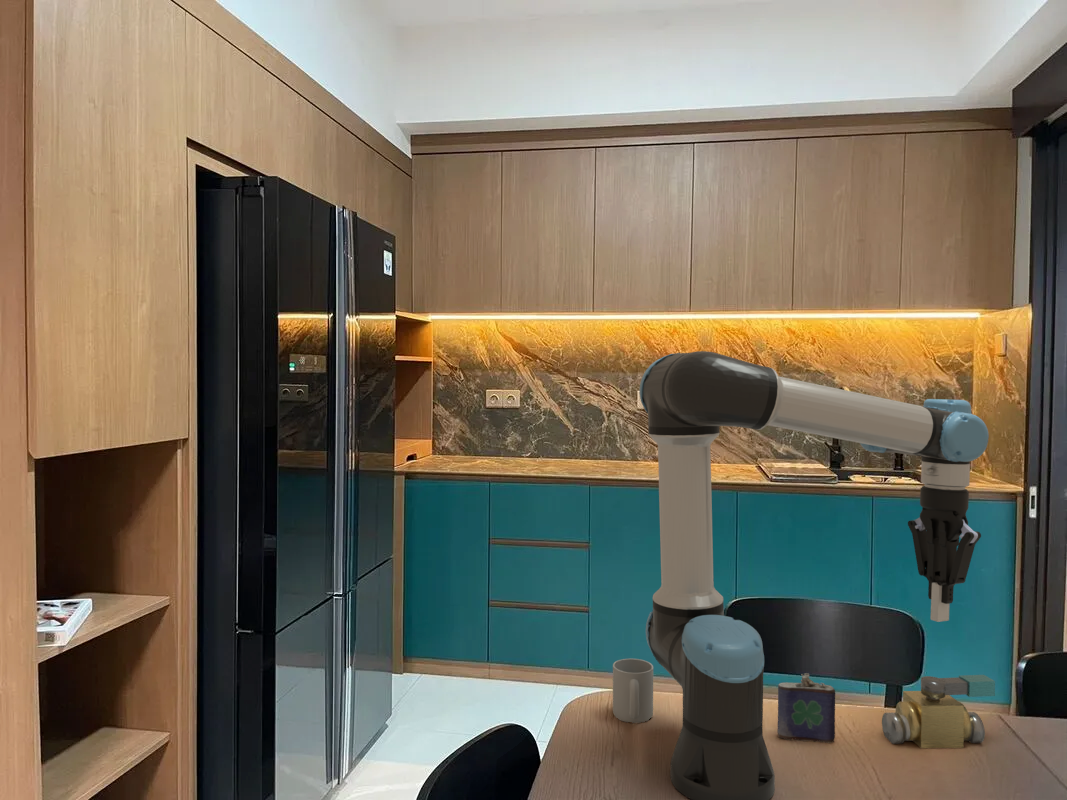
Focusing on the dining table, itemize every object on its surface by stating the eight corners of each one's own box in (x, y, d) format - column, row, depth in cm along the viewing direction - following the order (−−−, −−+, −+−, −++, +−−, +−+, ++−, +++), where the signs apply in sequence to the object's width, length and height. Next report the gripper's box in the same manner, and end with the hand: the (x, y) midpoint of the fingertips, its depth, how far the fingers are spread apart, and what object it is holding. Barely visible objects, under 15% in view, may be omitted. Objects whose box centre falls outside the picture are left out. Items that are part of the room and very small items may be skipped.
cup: (651, 707, 140) (651, 659, 140) (655, 731, 130) (656, 680, 130) (612, 705, 141) (612, 658, 141) (613, 730, 131) (613, 678, 131)
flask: (778, 739, 128) (779, 676, 127) (776, 731, 130) (776, 669, 130) (836, 744, 126) (837, 680, 126) (832, 736, 129) (833, 673, 129)
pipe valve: (897, 750, 124) (898, 703, 124) (880, 733, 130) (880, 688, 130) (986, 750, 125) (987, 703, 125) (965, 733, 131) (966, 688, 131)
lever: (929, 699, 125) (929, 684, 125) (916, 690, 129) (916, 676, 129) (996, 696, 126) (996, 682, 126) (981, 688, 130) (982, 673, 130)
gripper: (898, 482, 138) (893, 611, 139) (963, 492, 126) (958, 633, 127) (927, 481, 141) (923, 607, 142) (994, 491, 129) (989, 629, 130)
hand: (939, 619), depth 134 cm, fingers closed
